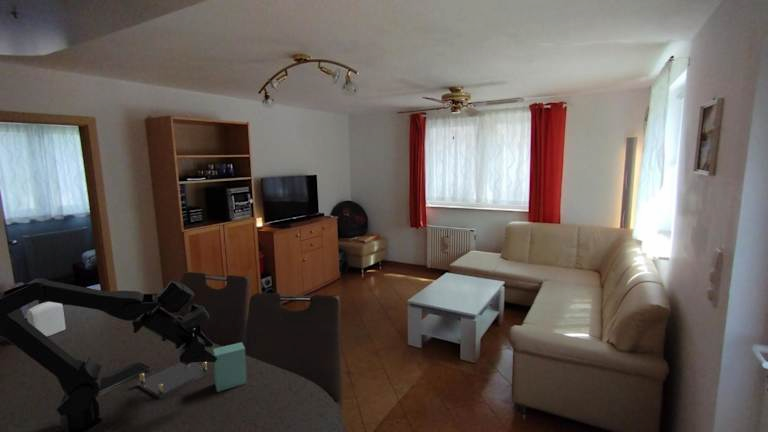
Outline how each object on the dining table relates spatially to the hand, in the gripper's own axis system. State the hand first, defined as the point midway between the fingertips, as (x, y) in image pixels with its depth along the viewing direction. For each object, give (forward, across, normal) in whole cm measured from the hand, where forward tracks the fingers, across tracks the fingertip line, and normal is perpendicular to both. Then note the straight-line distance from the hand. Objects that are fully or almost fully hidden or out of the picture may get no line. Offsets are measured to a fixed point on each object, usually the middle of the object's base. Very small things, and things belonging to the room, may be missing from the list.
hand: (214, 352), depth 103 cm
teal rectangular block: (+10, 0, +5) cm, 11 cm away
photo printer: (-27, +67, +42) cm, 83 cm away
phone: (-9, +19, +25) cm, 33 cm away
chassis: (0, +11, +15) cm, 18 cm away
